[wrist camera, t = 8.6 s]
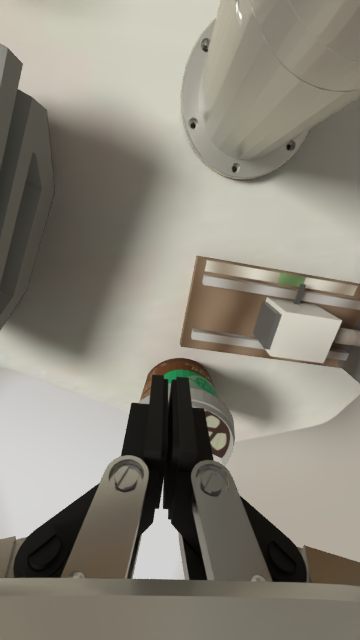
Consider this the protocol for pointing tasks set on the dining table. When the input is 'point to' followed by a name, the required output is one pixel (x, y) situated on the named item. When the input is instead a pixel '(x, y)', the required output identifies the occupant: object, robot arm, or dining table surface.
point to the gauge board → (245, 302)
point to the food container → (199, 401)
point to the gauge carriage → (295, 329)
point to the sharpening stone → (21, 183)
